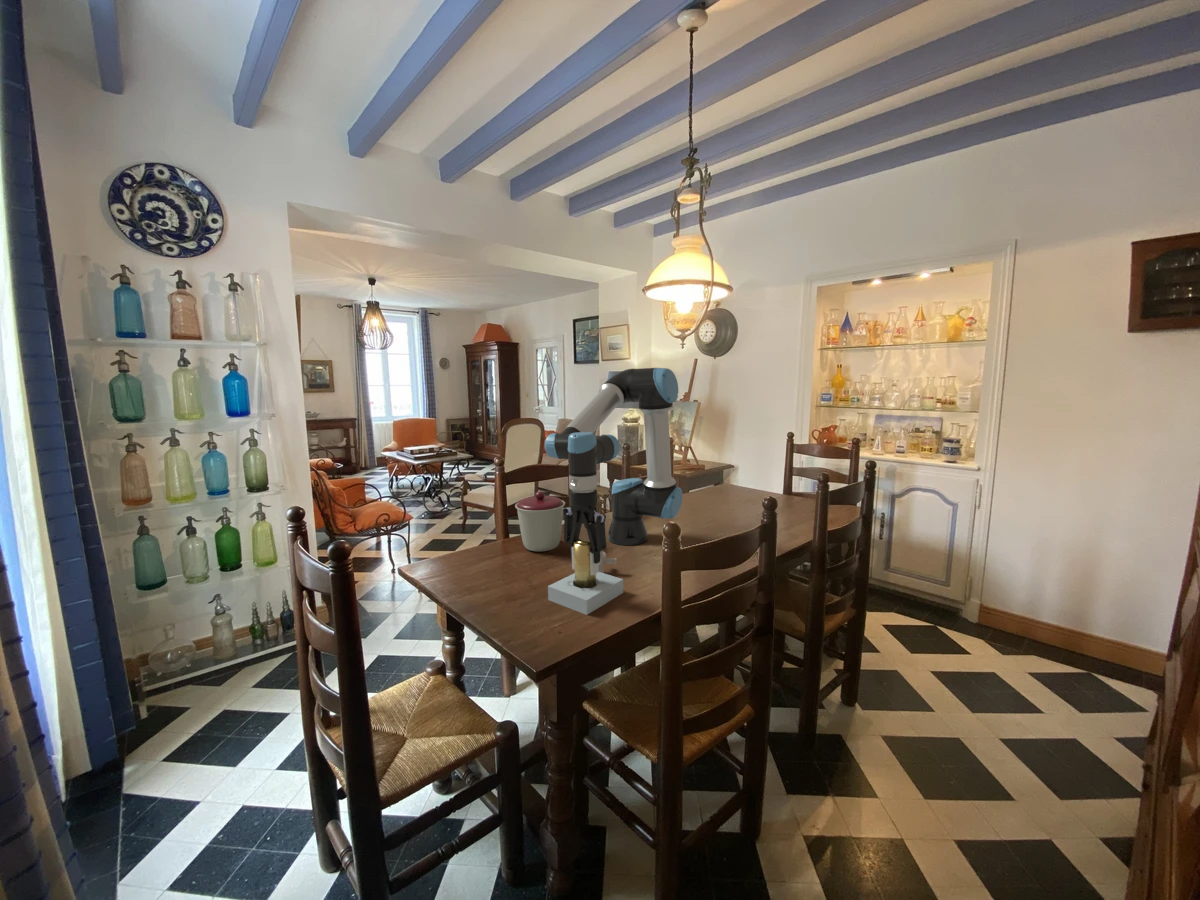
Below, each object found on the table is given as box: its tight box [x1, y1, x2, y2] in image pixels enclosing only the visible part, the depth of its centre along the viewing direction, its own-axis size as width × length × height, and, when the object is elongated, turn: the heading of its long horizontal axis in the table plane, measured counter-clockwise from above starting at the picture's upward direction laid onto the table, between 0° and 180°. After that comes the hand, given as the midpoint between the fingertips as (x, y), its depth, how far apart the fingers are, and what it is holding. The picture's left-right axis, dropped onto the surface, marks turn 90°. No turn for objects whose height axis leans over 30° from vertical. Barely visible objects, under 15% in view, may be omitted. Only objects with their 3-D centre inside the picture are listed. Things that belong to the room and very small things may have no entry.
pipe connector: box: [599, 550, 618, 573], centre depth 149 cm, size 10×10×10 cm
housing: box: [547, 572, 624, 616], centre depth 133 cm, size 16×14×5 cm
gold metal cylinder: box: [574, 537, 596, 589], centre depth 132 cm, size 6×6×14 cm
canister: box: [514, 490, 566, 553], centre depth 174 cm, size 18×18×21 cm
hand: (585, 570), depth 132 cm, fingers closed on gold metal cylinder, 6 cm apart
